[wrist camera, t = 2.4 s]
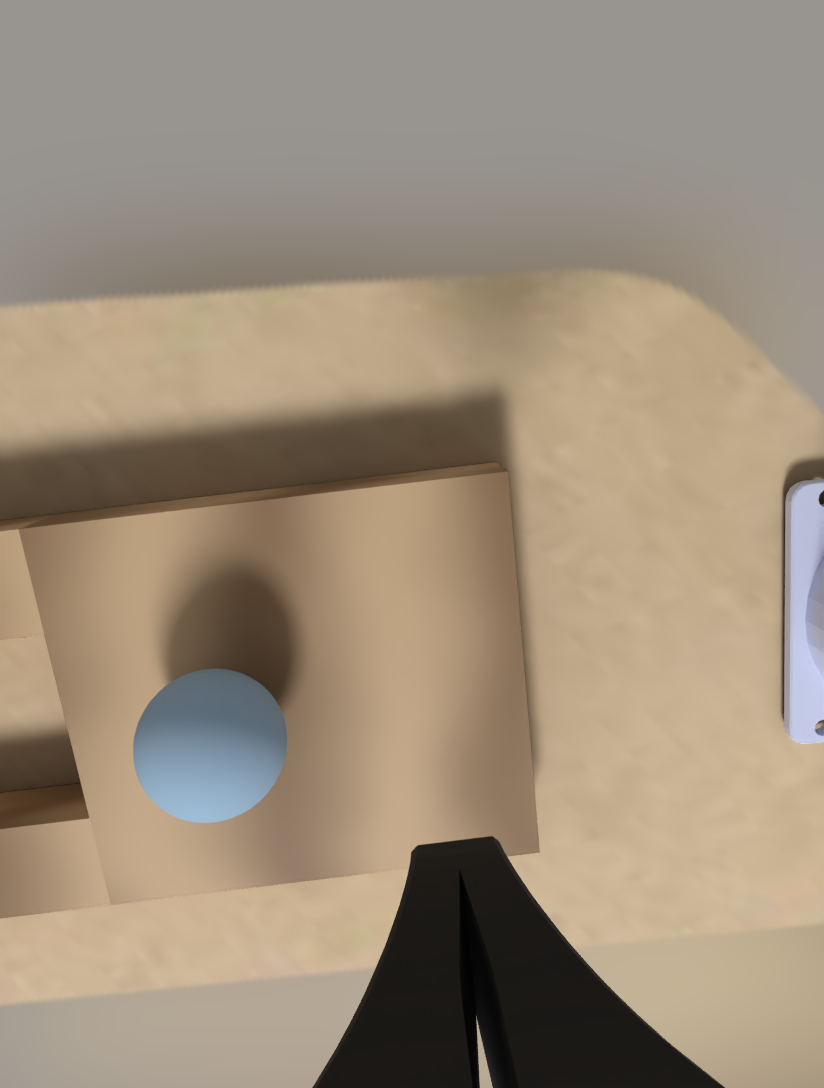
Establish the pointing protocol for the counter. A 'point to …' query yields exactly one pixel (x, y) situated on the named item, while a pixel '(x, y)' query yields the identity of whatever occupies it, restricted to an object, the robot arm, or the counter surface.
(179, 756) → the ball
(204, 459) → the counter surface
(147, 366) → the counter surface
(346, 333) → the counter surface
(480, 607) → the board
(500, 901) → the robot arm
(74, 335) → the counter surface
